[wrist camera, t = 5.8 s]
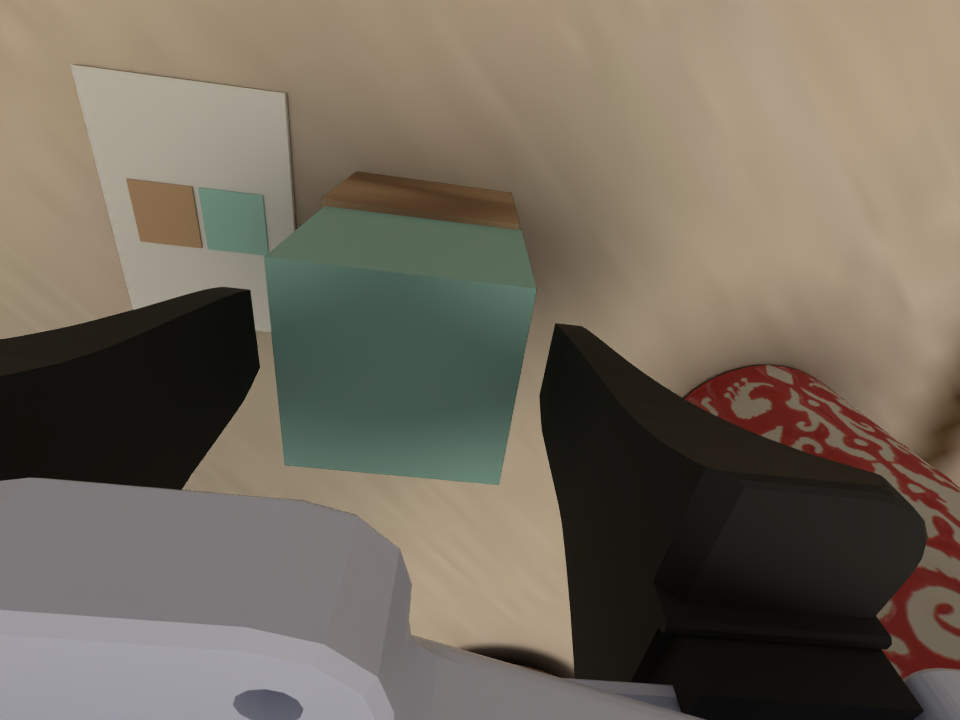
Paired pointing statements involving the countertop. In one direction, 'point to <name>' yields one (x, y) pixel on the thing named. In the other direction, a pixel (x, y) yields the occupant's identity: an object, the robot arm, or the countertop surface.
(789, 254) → the countertop surface
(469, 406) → the teal block
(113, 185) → the page
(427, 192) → the walnut block
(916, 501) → the mug
